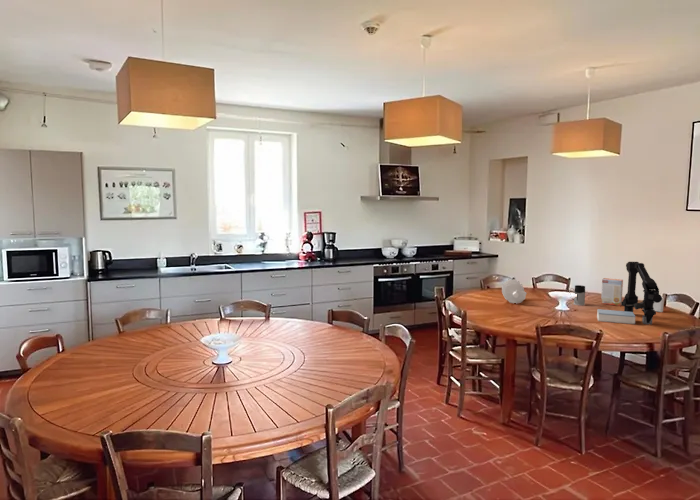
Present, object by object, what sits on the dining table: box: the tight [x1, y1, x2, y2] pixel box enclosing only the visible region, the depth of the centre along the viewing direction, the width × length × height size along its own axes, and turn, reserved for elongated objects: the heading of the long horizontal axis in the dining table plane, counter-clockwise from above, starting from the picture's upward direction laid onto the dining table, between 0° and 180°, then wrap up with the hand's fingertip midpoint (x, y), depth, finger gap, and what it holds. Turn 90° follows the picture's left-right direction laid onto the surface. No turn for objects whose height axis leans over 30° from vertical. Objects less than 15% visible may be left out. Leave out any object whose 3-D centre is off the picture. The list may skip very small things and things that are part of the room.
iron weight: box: [641, 315, 654, 326], centre depth 314 cm, size 5×5×5 cm
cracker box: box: [600, 277, 624, 307], centre depth 370 cm, size 14×6×21 cm, turn 50°
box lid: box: [596, 308, 636, 318], centre depth 321 cm, size 12×22×1 cm, turn 66°
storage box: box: [596, 310, 636, 325], centre depth 322 cm, size 12×22×5 cm, turn 66°
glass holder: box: [568, 284, 586, 306], centre depth 371 cm, size 9×14×15 cm, turn 104°
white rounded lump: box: [501, 278, 528, 304], centre depth 383 cm, size 18×18×25 cm
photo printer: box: [653, 295, 665, 313], centre depth 349 cm, size 10×4×12 cm, turn 39°
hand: (647, 321), depth 314 cm, fingers closed on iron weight, 5 cm apart
